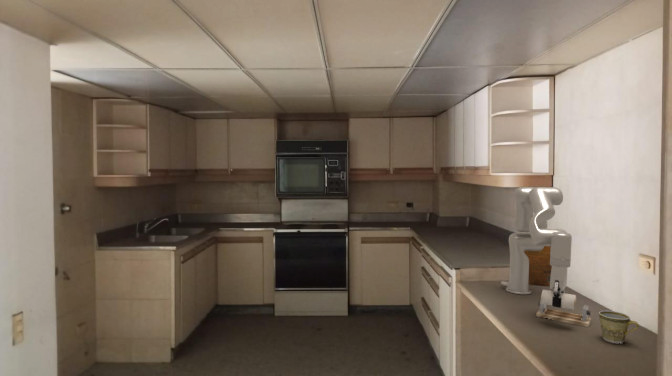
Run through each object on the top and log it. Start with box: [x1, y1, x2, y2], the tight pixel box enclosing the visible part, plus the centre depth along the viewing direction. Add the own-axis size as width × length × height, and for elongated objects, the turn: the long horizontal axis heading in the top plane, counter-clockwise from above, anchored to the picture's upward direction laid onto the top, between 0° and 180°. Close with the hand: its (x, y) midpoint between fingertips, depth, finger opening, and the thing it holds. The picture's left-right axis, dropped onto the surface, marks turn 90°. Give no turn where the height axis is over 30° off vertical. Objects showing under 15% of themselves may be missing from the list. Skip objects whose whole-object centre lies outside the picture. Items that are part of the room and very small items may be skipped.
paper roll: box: [540, 289, 577, 311], centre depth 178 cm, size 12×6×6 cm, turn 53°
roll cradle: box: [535, 299, 592, 328], centre depth 187 cm, size 20×9×7 cm, turn 53°
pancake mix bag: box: [524, 246, 552, 287], centre depth 244 cm, size 7×19×28 cm, turn 72°
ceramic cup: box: [598, 310, 640, 345], centre depth 162 cm, size 13×10×10 cm
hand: (558, 304), depth 178 cm, fingers closed on paper roll, 6 cm apart
